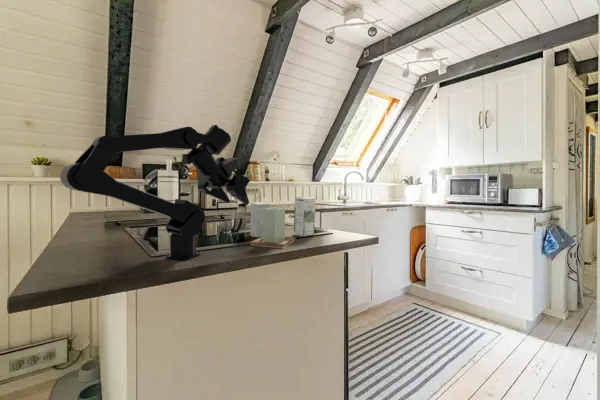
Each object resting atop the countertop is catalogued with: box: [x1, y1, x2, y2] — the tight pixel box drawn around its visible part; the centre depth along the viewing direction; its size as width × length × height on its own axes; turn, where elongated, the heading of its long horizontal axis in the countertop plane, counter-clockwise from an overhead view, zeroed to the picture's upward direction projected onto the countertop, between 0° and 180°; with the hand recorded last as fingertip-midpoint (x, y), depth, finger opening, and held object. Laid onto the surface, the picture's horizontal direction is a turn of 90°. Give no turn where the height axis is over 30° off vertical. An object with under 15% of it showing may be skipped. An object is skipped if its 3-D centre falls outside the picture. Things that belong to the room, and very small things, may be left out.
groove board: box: [250, 236, 296, 249], centre depth 98 cm, size 12×11×1 cm
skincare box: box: [250, 202, 271, 238], centre depth 110 cm, size 6×4×12 cm
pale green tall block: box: [263, 207, 286, 243], centre depth 98 cm, size 5×5×11 cm
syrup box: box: [293, 196, 316, 238], centre depth 112 cm, size 6×6×14 cm
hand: (238, 202), depth 93 cm, fingers open, 9 cm apart
